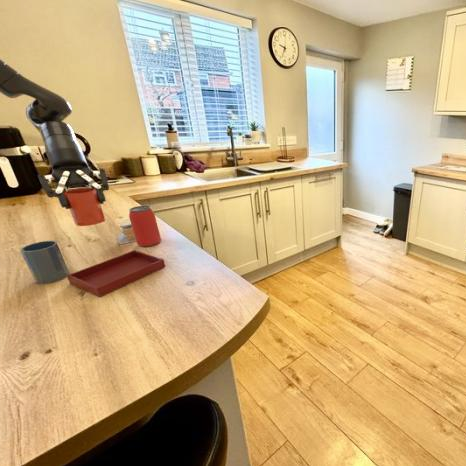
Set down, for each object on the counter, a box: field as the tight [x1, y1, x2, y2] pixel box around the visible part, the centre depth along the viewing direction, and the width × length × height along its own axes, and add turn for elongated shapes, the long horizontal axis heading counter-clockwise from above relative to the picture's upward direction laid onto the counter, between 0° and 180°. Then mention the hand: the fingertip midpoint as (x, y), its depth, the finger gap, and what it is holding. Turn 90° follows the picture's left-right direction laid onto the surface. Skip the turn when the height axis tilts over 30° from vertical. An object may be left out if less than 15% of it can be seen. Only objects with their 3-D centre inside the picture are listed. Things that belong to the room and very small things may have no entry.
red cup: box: [64, 187, 106, 227], centre depth 79 cm, size 6×6×9 cm
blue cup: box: [20, 240, 71, 285], centre depth 73 cm, size 6×6×9 cm
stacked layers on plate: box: [116, 218, 137, 245], centre depth 98 cm, size 10×9×6 cm
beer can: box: [128, 205, 162, 247], centre depth 92 cm, size 7×7×12 cm
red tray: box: [66, 249, 166, 298], centre depth 76 cm, size 16×13×2 cm
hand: (84, 204), depth 78 cm, fingers closed on red cup, 6 cm apart
